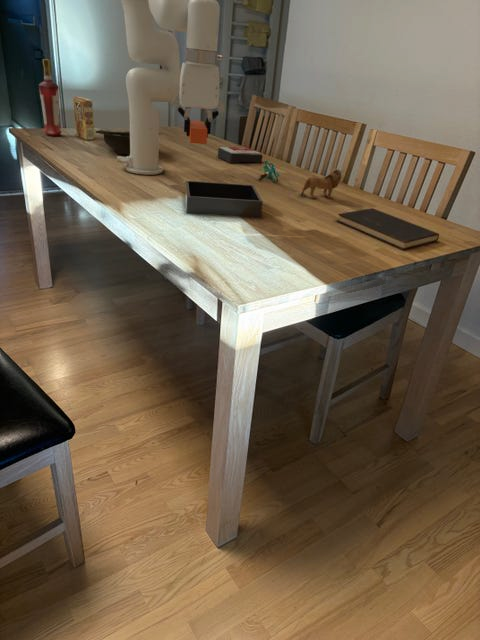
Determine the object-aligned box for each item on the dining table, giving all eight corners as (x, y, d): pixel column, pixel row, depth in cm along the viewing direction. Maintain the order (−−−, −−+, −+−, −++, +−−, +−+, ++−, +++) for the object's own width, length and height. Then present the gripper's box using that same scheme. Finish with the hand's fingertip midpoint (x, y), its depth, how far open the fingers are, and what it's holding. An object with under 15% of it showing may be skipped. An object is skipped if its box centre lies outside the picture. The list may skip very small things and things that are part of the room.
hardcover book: (402, 250, 121) (405, 241, 120) (336, 221, 136) (338, 213, 135) (437, 241, 130) (440, 233, 129) (371, 215, 145) (373, 207, 144)
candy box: (95, 139, 200) (93, 100, 192) (85, 140, 197) (83, 100, 190) (84, 135, 205) (82, 96, 197) (75, 135, 202) (72, 96, 195)
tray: (186, 214, 128) (187, 196, 126) (184, 196, 142) (185, 180, 140) (260, 218, 132) (262, 201, 129) (252, 200, 146) (253, 185, 143)
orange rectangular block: (190, 142, 121) (190, 128, 119) (187, 134, 131) (188, 120, 130) (206, 144, 122) (207, 129, 120) (202, 135, 132) (203, 121, 130)
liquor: (46, 132, 202) (38, 58, 188) (64, 134, 203) (58, 60, 189) (41, 135, 195) (33, 59, 181) (60, 137, 197) (53, 61, 182)
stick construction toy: (284, 177, 166) (272, 158, 163) (268, 189, 165) (256, 169, 163) (273, 178, 177) (262, 160, 174) (258, 189, 176) (247, 171, 174)
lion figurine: (331, 193, 162) (337, 167, 158) (340, 198, 158) (346, 171, 154) (295, 195, 156) (300, 167, 152) (304, 200, 152) (309, 171, 148)
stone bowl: (130, 160, 173) (128, 133, 169) (82, 152, 185) (79, 127, 180) (173, 151, 192) (172, 127, 187) (127, 144, 203) (125, 121, 199)
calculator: (263, 153, 192) (231, 151, 185) (261, 164, 194) (230, 163, 187) (249, 147, 200) (218, 145, 192) (247, 157, 202) (217, 156, 194)
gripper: (232, 61, 122) (226, 136, 131) (166, 53, 119) (164, 130, 128) (236, 63, 115) (229, 141, 125) (167, 55, 112) (165, 136, 122)
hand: (196, 135), depth 126 cm, fingers closed on orange rectangular block, 4 cm apart
